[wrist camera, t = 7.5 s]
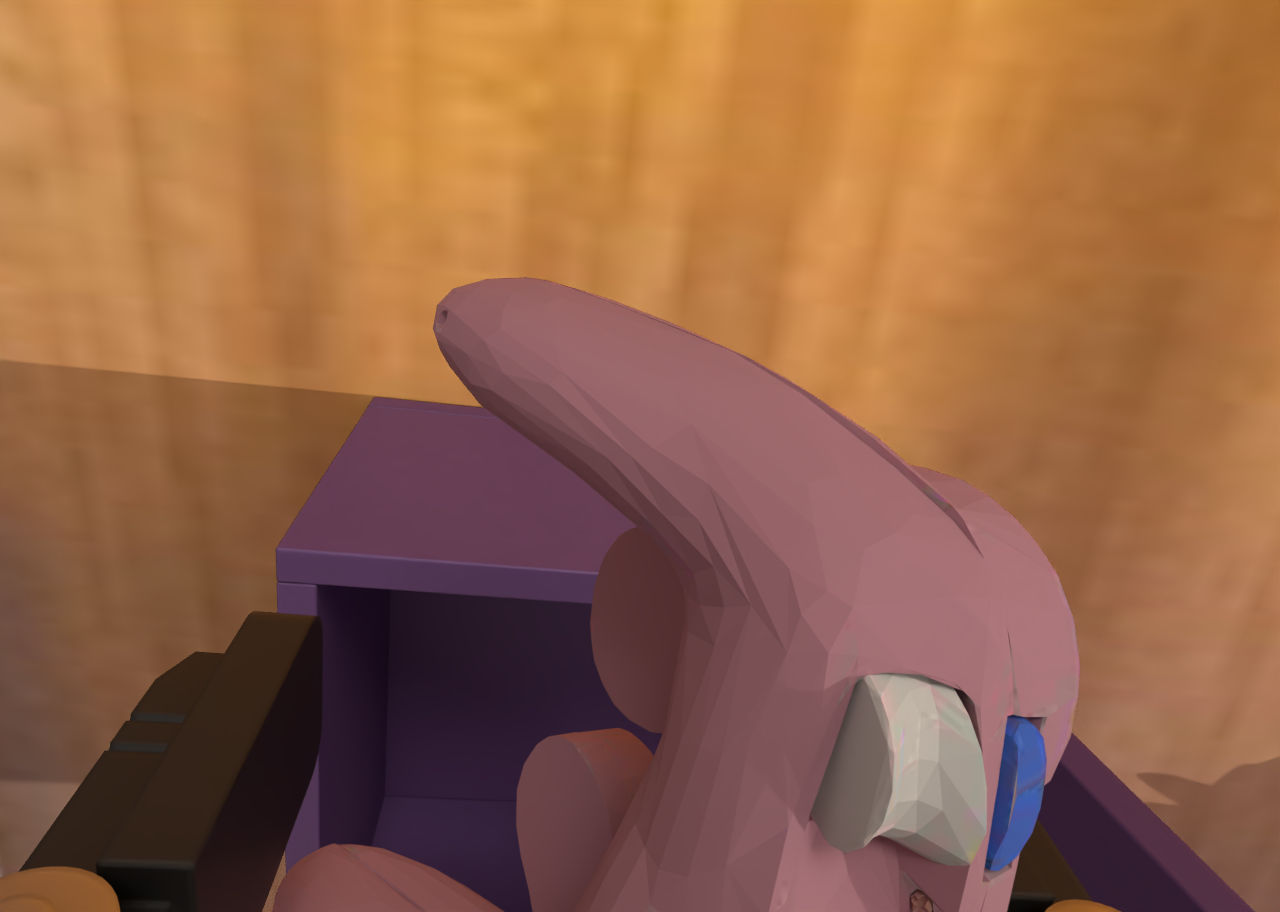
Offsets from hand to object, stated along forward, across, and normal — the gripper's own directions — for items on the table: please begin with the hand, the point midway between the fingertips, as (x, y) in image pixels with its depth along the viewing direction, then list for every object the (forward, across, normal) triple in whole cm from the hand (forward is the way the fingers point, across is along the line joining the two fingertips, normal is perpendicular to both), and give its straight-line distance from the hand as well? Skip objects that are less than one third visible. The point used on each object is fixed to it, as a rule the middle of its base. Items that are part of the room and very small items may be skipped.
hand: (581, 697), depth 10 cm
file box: (+16, -1, +10) cm, 19 cm away
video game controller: (+1, 0, 0) cm, 1 cm away
